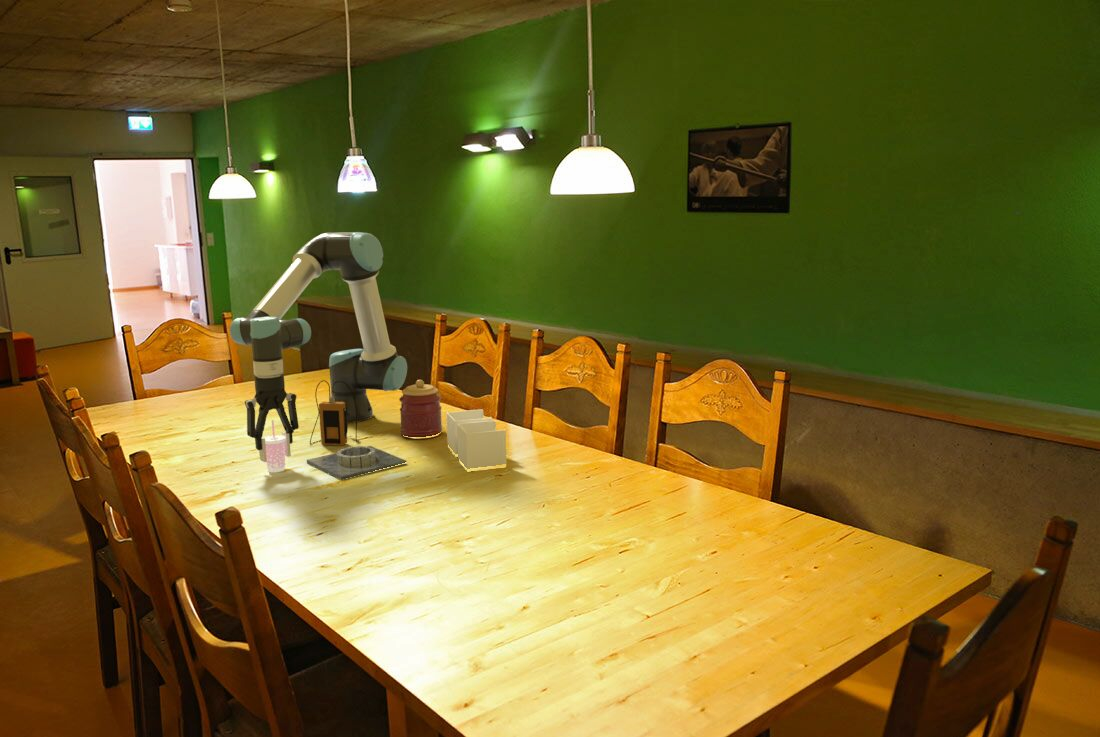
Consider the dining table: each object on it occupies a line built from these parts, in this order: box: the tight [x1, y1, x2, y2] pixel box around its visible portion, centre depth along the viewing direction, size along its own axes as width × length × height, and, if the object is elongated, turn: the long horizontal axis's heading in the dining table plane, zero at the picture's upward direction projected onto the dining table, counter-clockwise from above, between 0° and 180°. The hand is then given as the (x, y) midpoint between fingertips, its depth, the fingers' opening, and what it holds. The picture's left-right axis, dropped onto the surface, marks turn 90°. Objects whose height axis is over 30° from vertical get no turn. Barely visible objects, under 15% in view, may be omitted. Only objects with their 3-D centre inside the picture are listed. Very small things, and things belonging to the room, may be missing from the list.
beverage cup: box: [263, 419, 286, 473], centre depth 224 cm, size 6×6×14 cm
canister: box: [399, 379, 443, 437], centre depth 258 cm, size 13×13×18 cm
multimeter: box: [309, 380, 360, 447], centre depth 250 cm, size 15×10×20 cm
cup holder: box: [306, 445, 407, 481], centre depth 230 cm, size 20×20×4 cm
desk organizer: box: [445, 408, 507, 469], centre depth 234 cm, size 25×11×11 cm, turn 19°
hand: (275, 457), depth 225 cm, fingers closed on beverage cup, 6 cm apart
